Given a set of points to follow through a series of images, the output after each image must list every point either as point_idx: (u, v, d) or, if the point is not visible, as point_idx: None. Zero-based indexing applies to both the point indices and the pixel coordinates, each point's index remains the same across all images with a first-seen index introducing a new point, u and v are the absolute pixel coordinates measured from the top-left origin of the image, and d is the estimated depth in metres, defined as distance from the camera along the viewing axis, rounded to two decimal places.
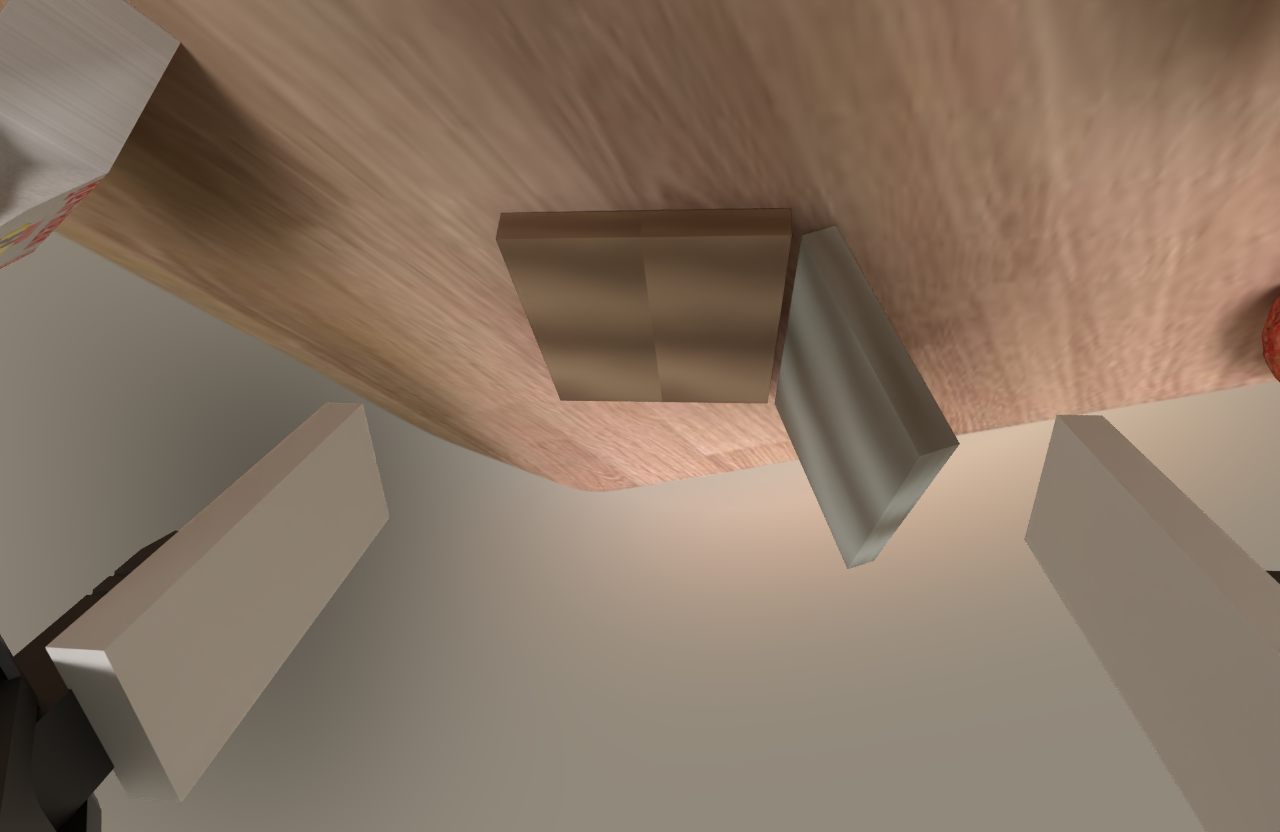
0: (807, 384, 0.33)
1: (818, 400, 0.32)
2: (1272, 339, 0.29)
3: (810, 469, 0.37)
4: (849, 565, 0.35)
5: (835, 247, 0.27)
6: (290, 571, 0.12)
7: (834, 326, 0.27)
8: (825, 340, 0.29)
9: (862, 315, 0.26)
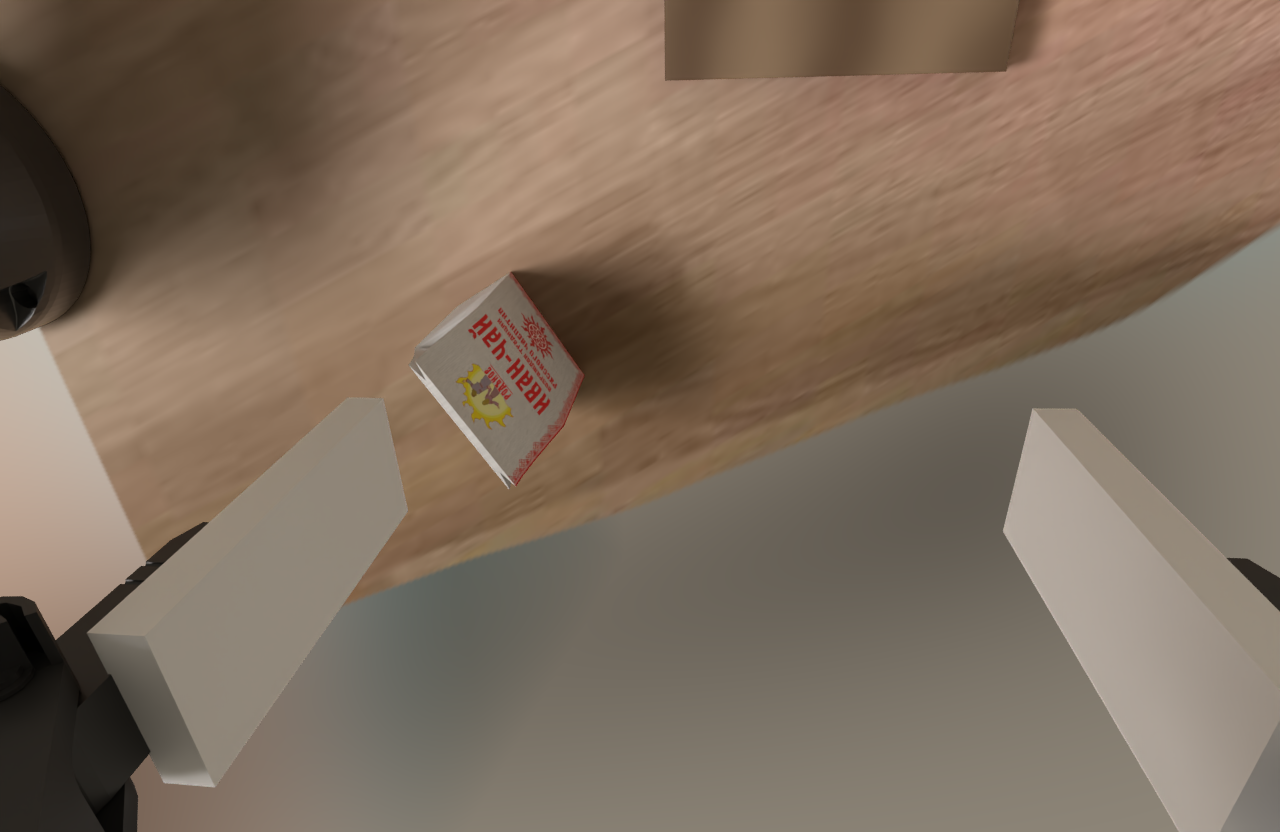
0: None
1: None
2: None
3: None
4: None
5: None
6: (316, 562, 0.12)
7: None
8: None
9: None
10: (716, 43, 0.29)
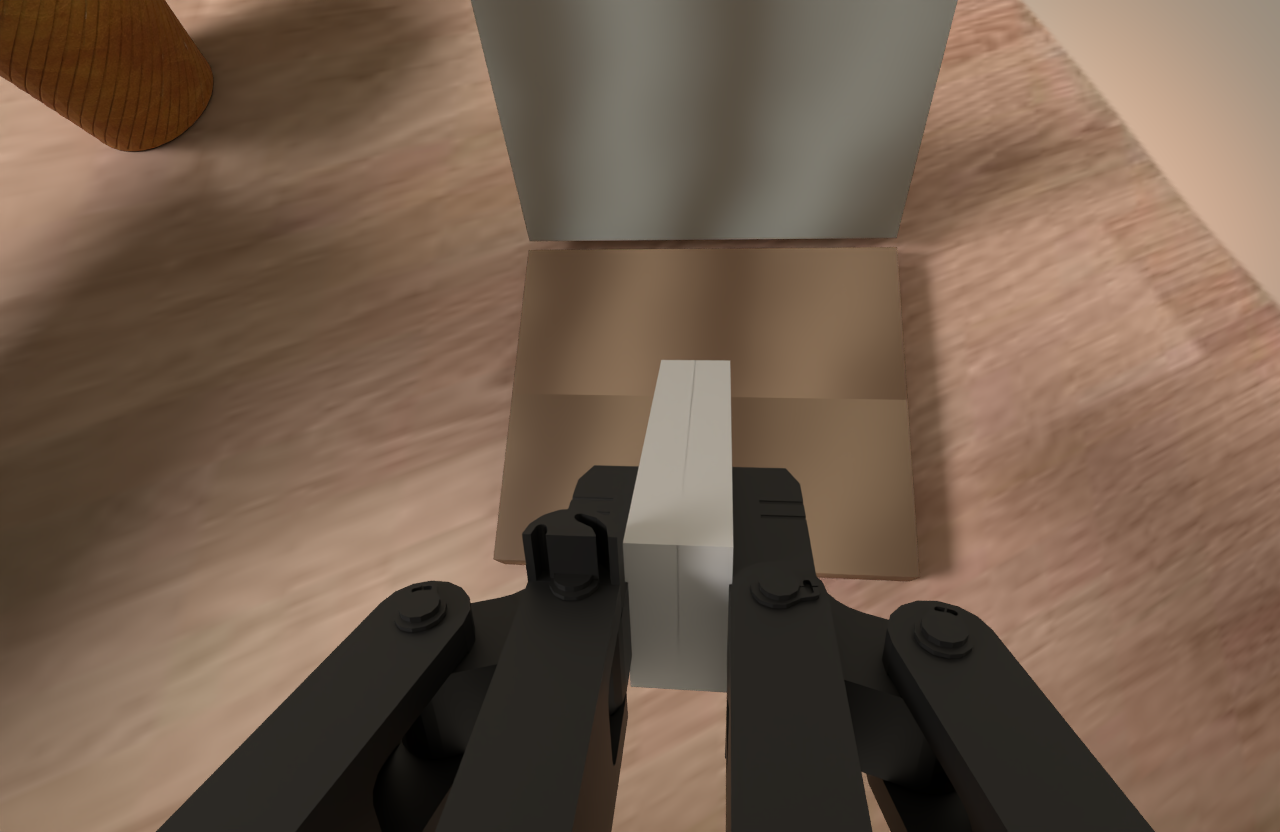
0: (715, 175, 0.25)
1: (701, 146, 0.24)
2: None
3: (887, 115, 0.23)
4: None
5: None
6: None
7: (545, 157, 0.25)
8: (589, 166, 0.25)
9: None
10: None
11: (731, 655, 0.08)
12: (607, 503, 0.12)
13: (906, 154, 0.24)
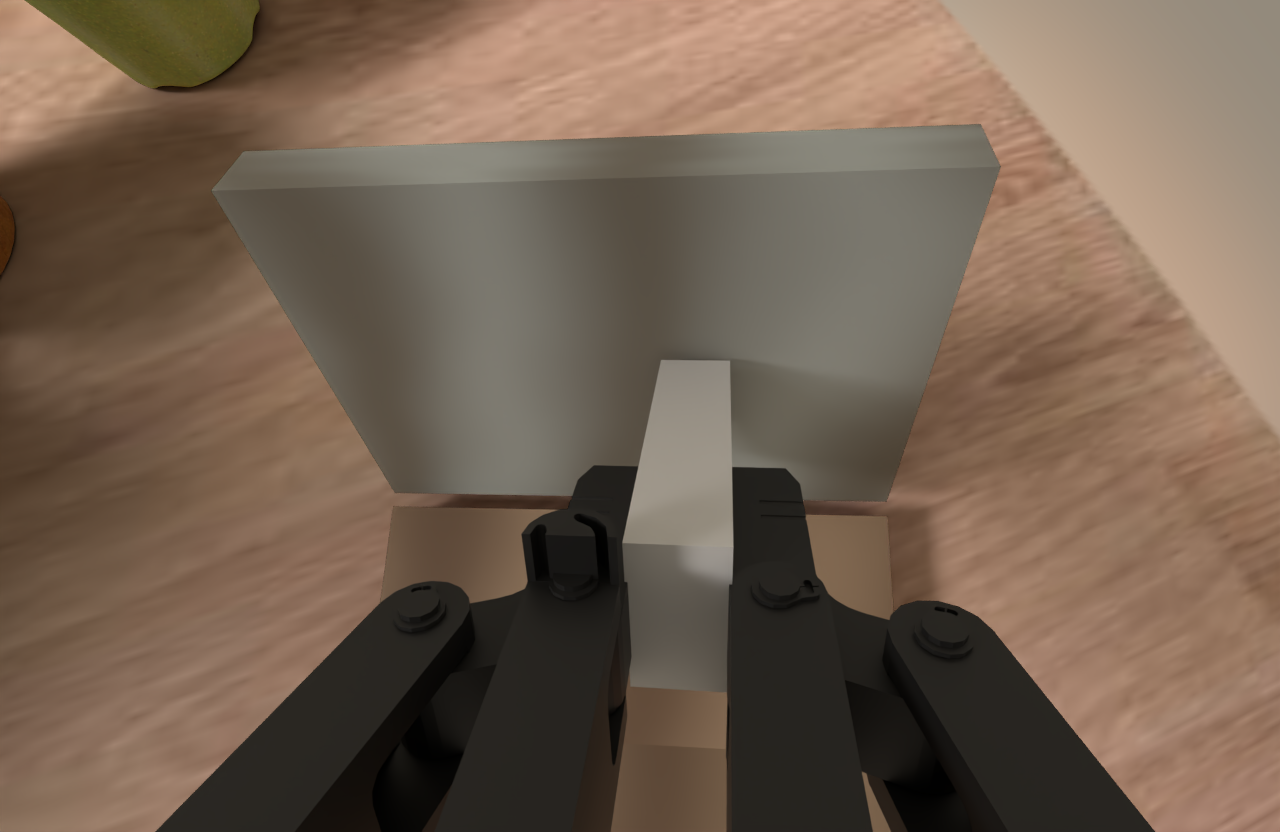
0: (632, 436, 0.18)
1: (608, 406, 0.17)
2: None
3: (869, 380, 0.16)
4: (964, 168, 0.12)
5: None
6: None
7: (395, 412, 0.18)
8: (457, 423, 0.18)
9: None
10: None
11: (731, 655, 0.08)
12: (607, 503, 0.12)
13: (897, 420, 0.17)
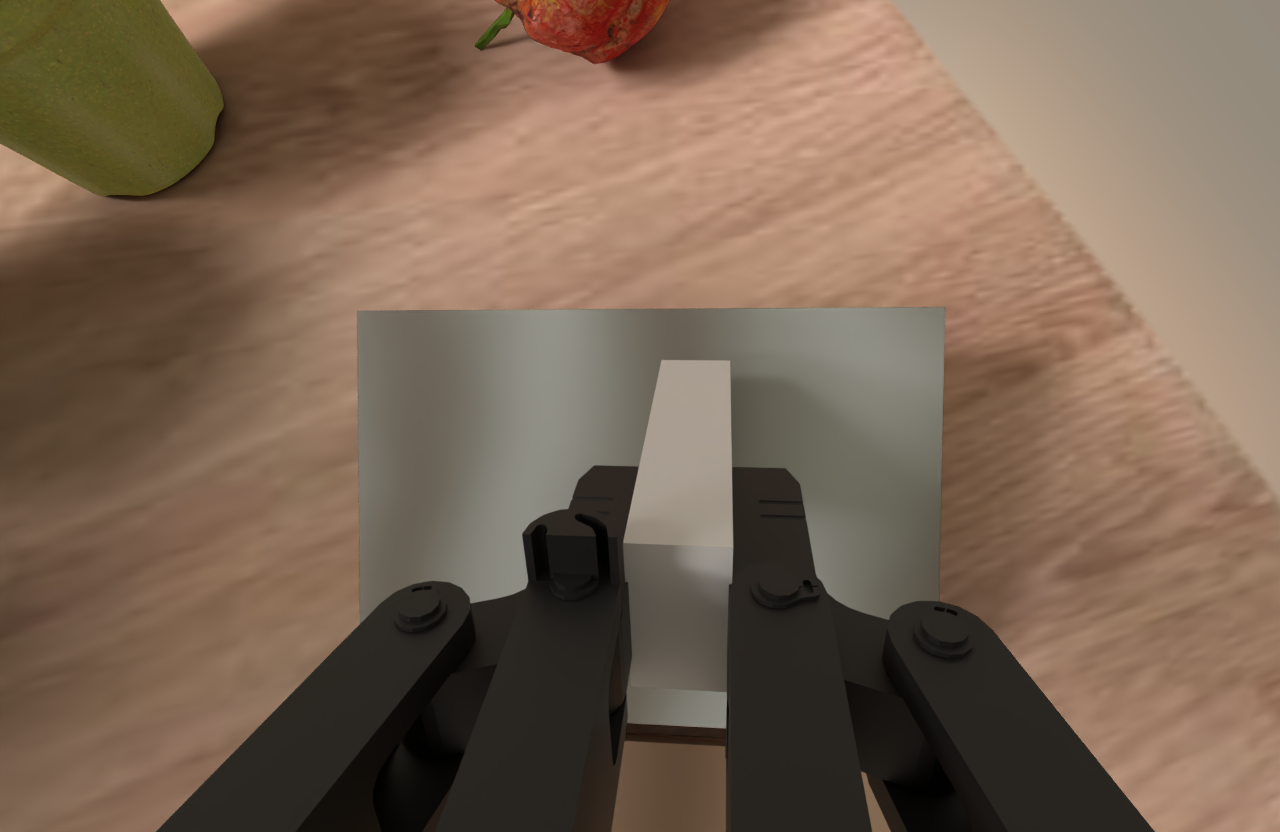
0: None
1: None
2: (582, 33, 0.21)
3: (884, 531, 0.16)
4: (919, 308, 0.16)
5: None
6: None
7: (409, 568, 0.18)
8: (469, 585, 0.17)
9: None
10: None
11: (731, 655, 0.08)
12: (607, 503, 0.12)
13: (922, 592, 0.16)
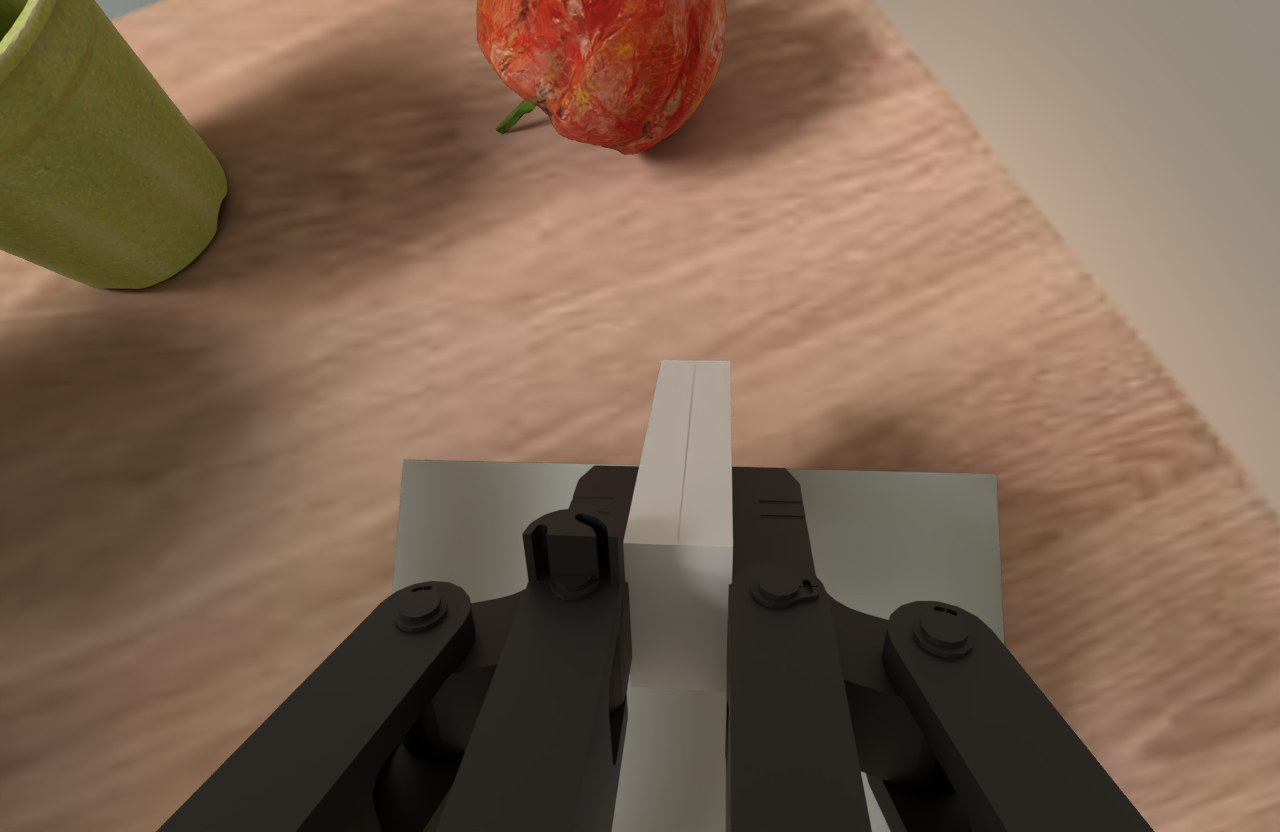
0: (691, 794, 0.16)
1: (671, 737, 0.16)
2: (615, 132, 0.20)
3: None
4: (970, 474, 0.16)
5: None
6: None
7: None
8: None
9: None
10: None
11: (731, 655, 0.08)
12: (607, 503, 0.12)
13: None
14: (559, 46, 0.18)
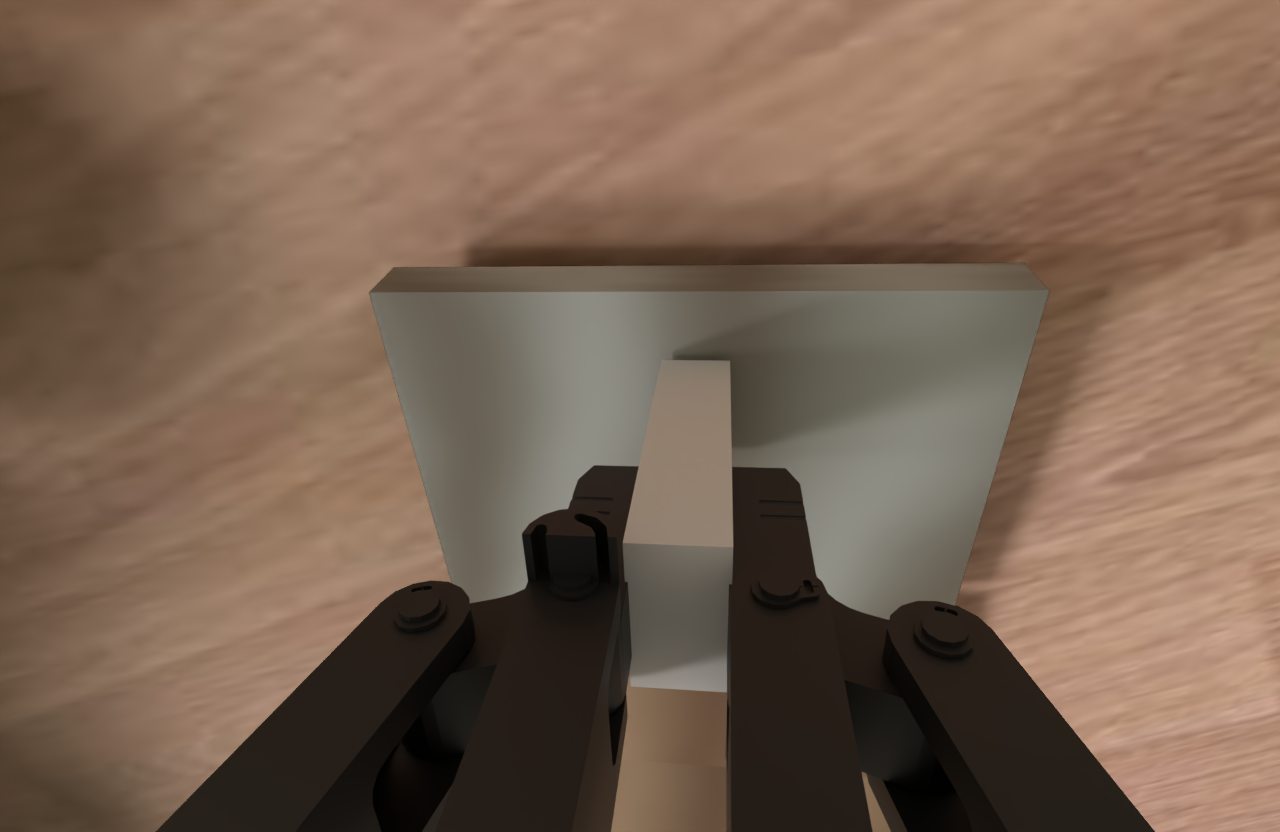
0: None
1: None
2: None
3: (934, 490, 0.17)
4: (1018, 291, 0.14)
5: None
6: None
7: (478, 513, 0.19)
8: None
9: None
10: None
11: (731, 655, 0.08)
12: (607, 503, 0.12)
13: (960, 534, 0.18)
14: None
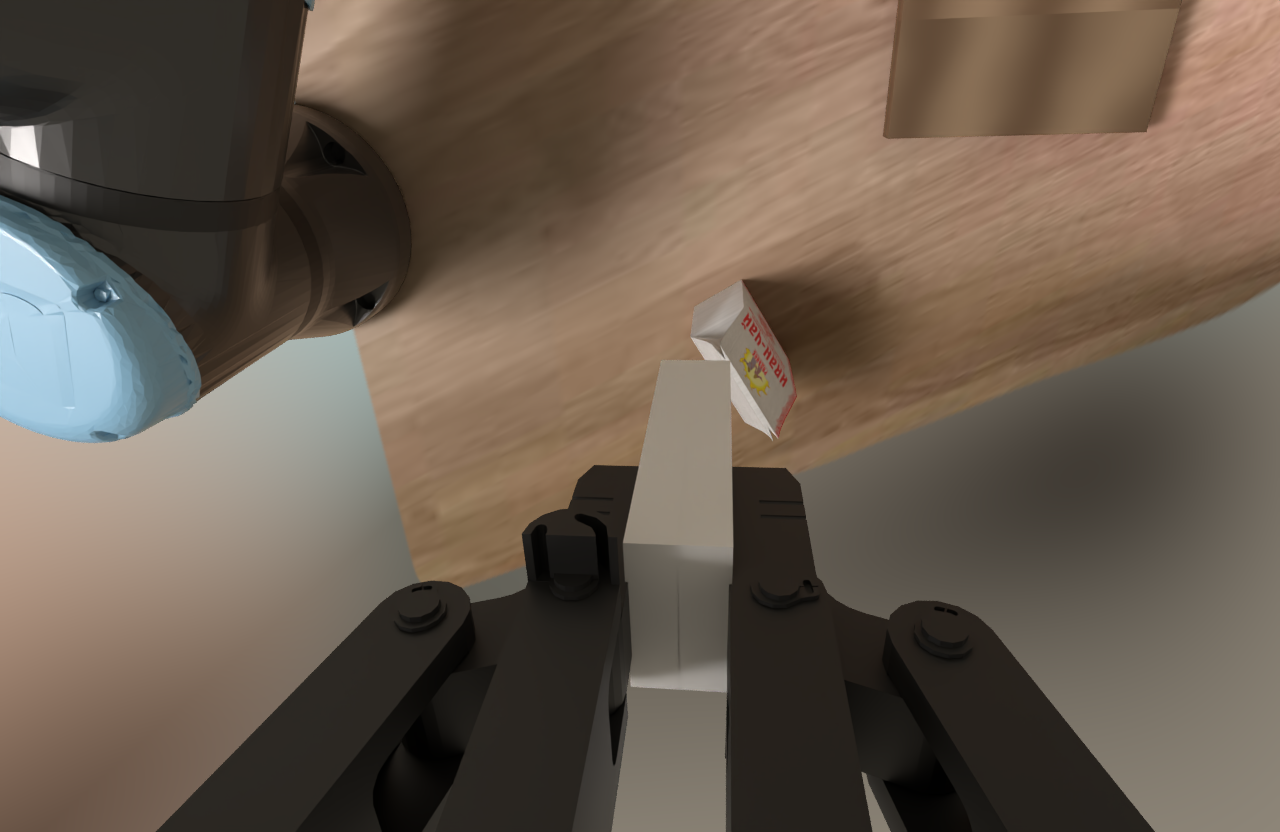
0: None
1: None
2: None
3: None
4: None
5: None
6: None
7: None
8: None
9: None
10: (929, 112, 0.40)
11: (731, 655, 0.08)
12: (607, 503, 0.12)
13: None
14: None
